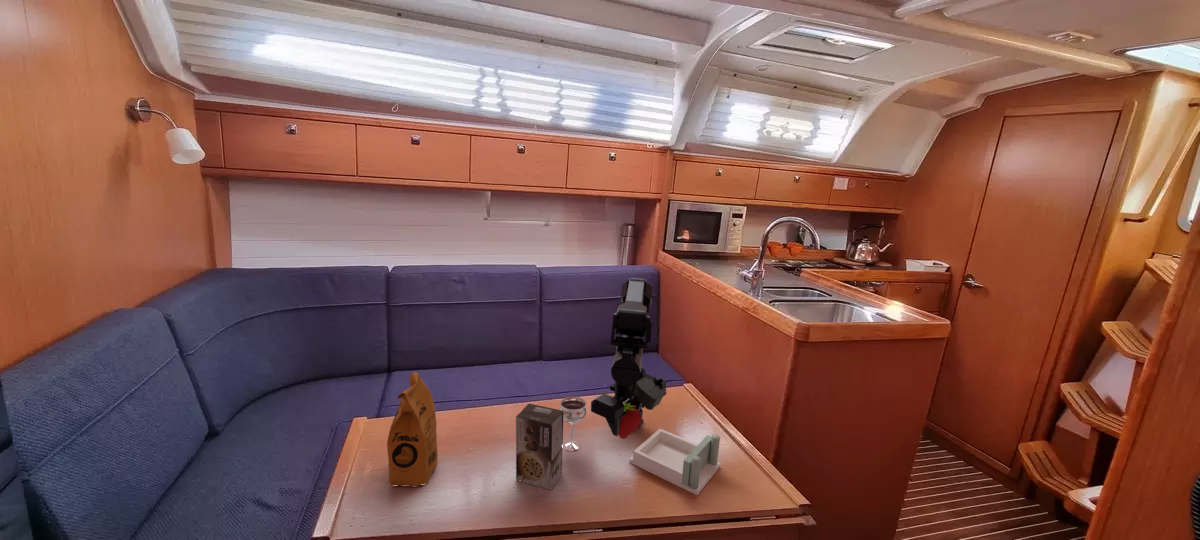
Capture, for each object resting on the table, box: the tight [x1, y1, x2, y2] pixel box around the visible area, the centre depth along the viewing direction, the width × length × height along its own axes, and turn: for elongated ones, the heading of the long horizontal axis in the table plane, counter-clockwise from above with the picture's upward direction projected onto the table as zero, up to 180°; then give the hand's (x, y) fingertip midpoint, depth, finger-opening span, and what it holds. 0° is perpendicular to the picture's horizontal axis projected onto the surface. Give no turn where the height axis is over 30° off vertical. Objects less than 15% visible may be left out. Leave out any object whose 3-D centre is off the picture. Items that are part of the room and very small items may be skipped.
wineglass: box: [559, 396, 587, 449], centre depth 114 cm, size 7×7×12 cm
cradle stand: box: [628, 428, 721, 496], centre depth 109 cm, size 18×13×8 cm
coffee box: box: [515, 403, 564, 491], centre depth 102 cm, size 9×6×16 cm
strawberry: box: [618, 403, 643, 439], centre depth 101 cm, size 6×8×10 cm
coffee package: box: [386, 371, 439, 487], centre depth 101 cm, size 10×12×22 cm
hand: (624, 428), depth 101 cm, fingers closed on strawberry, 6 cm apart
